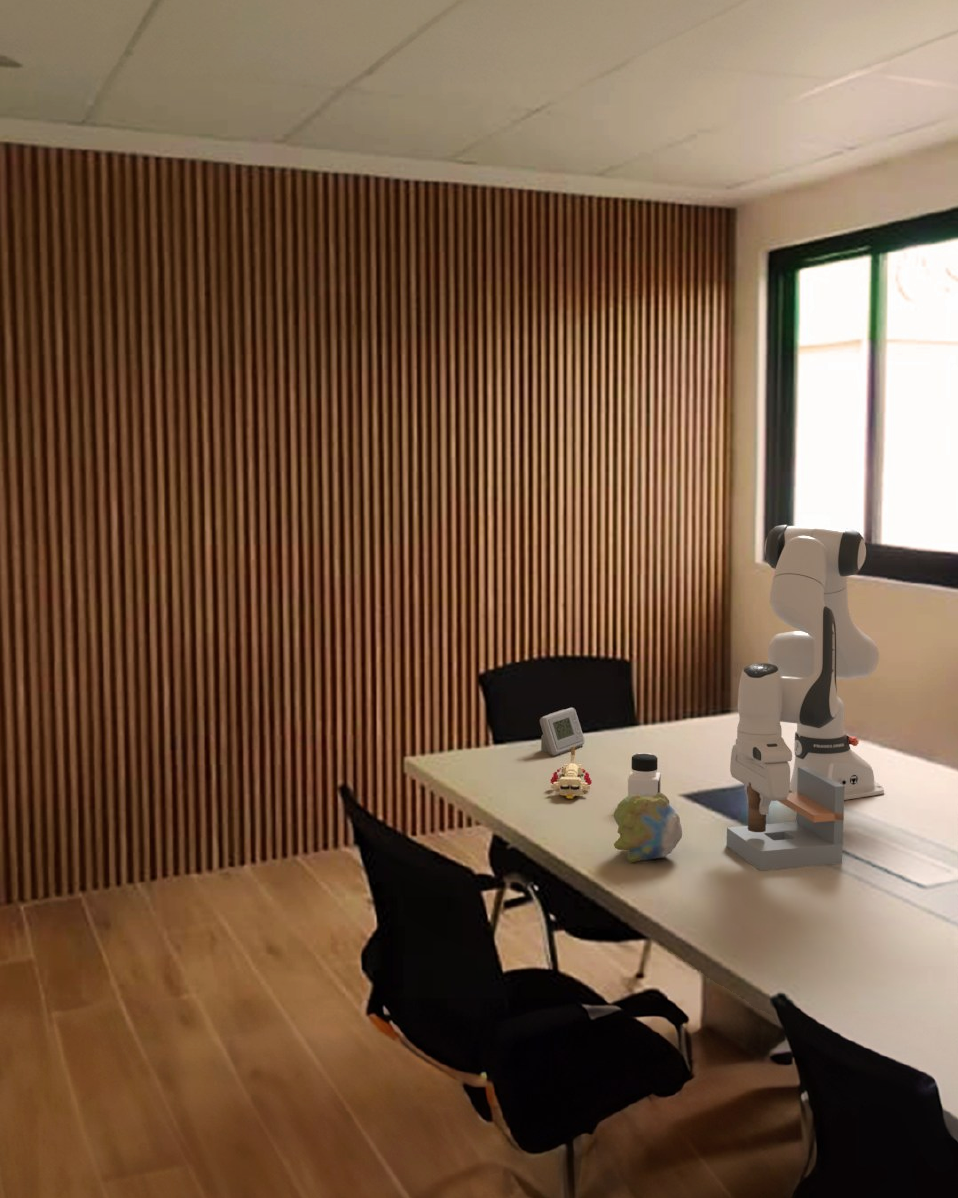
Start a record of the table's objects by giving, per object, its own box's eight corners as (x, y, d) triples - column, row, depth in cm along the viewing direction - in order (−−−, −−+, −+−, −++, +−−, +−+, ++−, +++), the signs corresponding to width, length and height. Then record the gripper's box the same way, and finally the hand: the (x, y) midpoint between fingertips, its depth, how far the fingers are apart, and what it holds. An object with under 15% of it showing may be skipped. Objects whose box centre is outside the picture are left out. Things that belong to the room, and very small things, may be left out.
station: (804, 839, 275) (806, 766, 272) (842, 863, 259) (844, 786, 257) (726, 845, 270) (727, 772, 268) (760, 870, 255) (761, 792, 253)
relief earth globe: (684, 787, 259) (638, 774, 271) (625, 823, 251) (580, 807, 264) (700, 847, 262) (654, 831, 275) (643, 884, 255) (598, 866, 268)
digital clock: (552, 758, 345) (552, 719, 344) (529, 752, 352) (528, 714, 350) (593, 747, 356) (593, 710, 354) (570, 742, 362) (570, 705, 361)
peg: (760, 826, 265) (762, 779, 263) (768, 831, 261) (769, 783, 260) (744, 827, 264) (745, 780, 263) (752, 833, 260) (753, 785, 259)
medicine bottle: (658, 809, 297) (658, 759, 295) (627, 808, 298) (627, 758, 297) (660, 801, 304) (660, 751, 302) (630, 799, 305) (630, 750, 304)
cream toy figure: (553, 779, 329) (548, 798, 304) (553, 745, 329) (548, 762, 304) (592, 779, 328) (590, 799, 303) (592, 745, 328) (590, 762, 303)
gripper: (723, 733, 270) (722, 797, 271) (767, 757, 250) (765, 825, 252) (750, 731, 271) (749, 795, 273) (796, 755, 251) (794, 823, 253)
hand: (757, 810), depth 262 cm, fingers closed on peg, 4 cm apart
